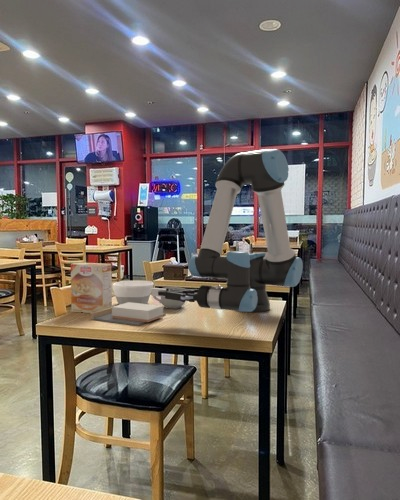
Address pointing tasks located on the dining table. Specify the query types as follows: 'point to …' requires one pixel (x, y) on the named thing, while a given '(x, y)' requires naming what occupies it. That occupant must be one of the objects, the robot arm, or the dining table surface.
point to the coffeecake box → (90, 287)
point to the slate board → (107, 317)
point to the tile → (137, 311)
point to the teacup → (168, 302)
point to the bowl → (132, 291)
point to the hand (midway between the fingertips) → (152, 291)
